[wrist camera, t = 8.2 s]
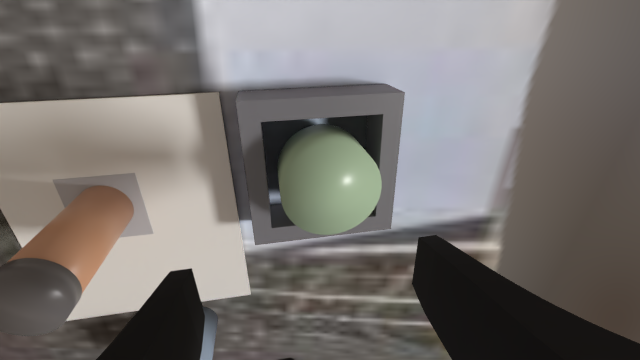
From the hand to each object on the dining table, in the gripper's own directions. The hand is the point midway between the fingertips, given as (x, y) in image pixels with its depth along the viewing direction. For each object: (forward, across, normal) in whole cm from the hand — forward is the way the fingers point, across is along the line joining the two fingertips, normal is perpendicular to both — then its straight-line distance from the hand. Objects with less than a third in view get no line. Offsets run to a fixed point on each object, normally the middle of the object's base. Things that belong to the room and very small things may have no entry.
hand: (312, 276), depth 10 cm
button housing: (+10, -2, 0) cm, 10 cm away
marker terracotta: (+9, +10, +2) cm, 14 cm away
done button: (+8, -2, 0) cm, 8 cm away
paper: (+9, +9, +3) cm, 13 cm away
